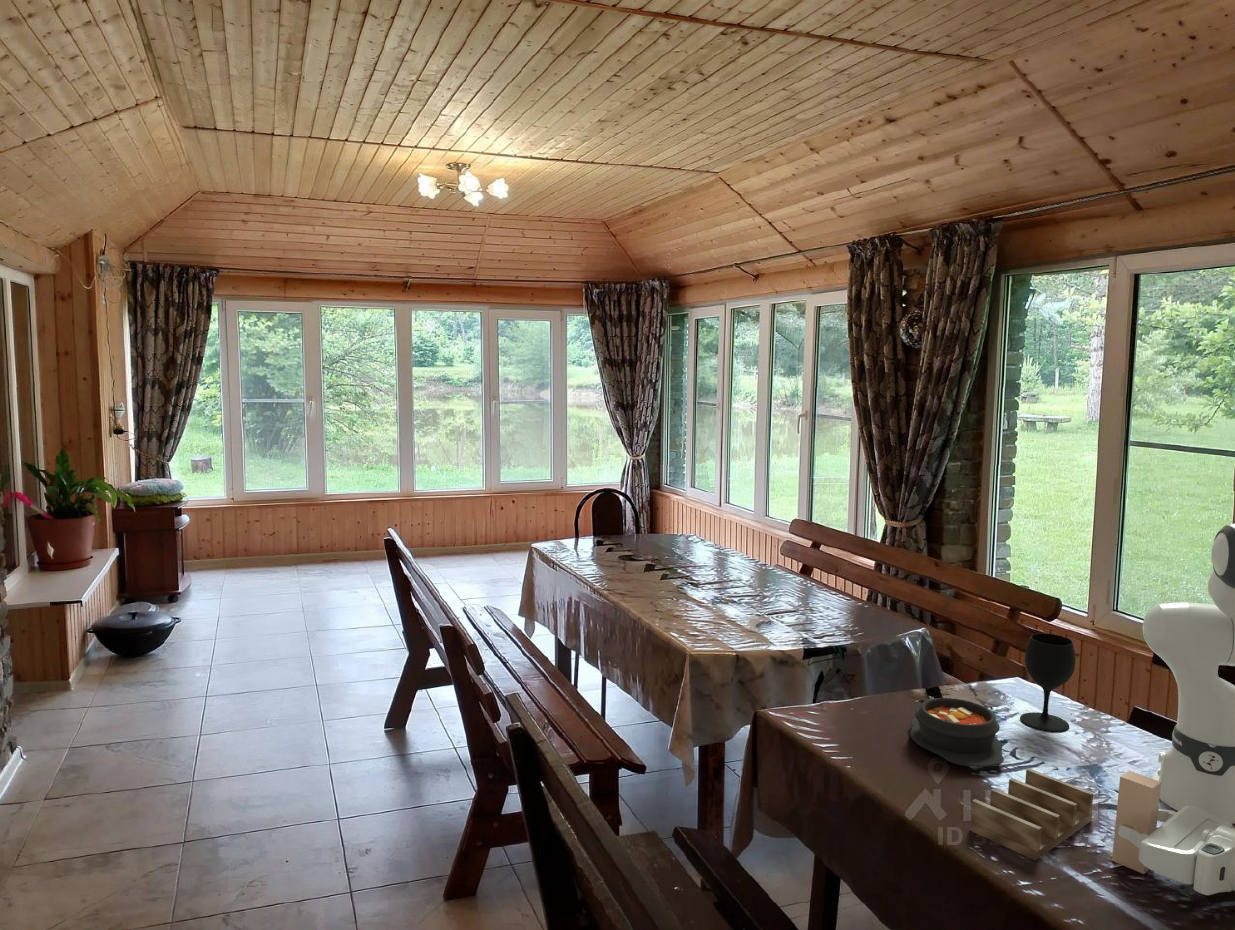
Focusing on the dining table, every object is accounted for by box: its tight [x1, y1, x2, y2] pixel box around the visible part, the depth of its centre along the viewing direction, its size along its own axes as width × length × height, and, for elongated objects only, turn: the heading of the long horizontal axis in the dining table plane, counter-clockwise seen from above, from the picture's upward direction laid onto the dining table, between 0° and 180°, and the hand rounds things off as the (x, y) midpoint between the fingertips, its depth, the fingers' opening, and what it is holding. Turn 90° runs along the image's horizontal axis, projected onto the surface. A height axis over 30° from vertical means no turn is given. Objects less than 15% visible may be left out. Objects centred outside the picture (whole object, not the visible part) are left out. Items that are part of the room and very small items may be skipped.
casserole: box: [909, 697, 1005, 768], centre depth 194 cm, size 25×19×8 cm
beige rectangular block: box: [1111, 770, 1161, 875], centre depth 151 cm, size 5×4×15 cm
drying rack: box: [969, 767, 1094, 861], centre depth 163 cm, size 12×21×6 cm, turn 129°
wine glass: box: [1019, 632, 1077, 733], centre depth 207 cm, size 10×10×20 cm
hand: (1132, 819), depth 151 cm, fingers open, 8 cm apart
